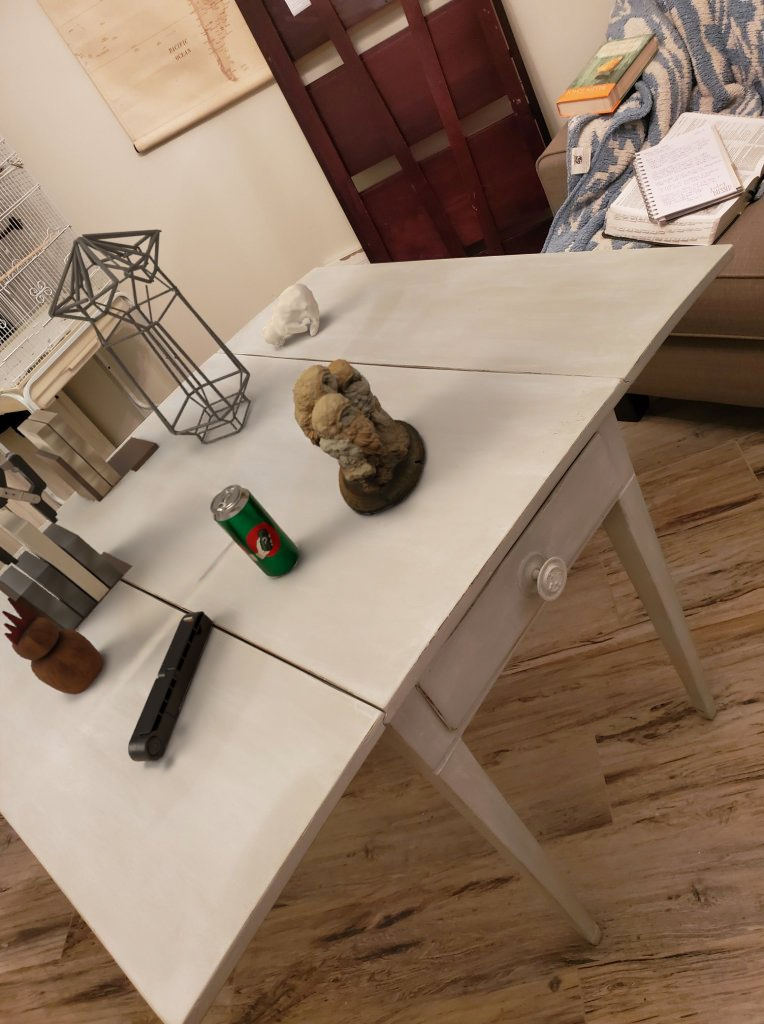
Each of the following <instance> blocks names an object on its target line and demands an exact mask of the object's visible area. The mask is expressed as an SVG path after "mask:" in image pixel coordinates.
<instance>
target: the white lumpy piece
mask: <svg viewBox="0 0 764 1024" xmlns="http://www.w3.org/2000/svg"><path fill="white" fill-rule="evenodd" d="M306 319H309V321H310V326H309V328H308V325H306V324H303V321H304V320H306ZM319 327H320V308H319V304H318V302H317V300H316V298H315V296H314V294H313V291H312V290H311V289H310V288H309V287H308V286H307V285H306V284H304V283H301V282H299V283H295V284H292V285H289V286H288V287H286V288H285V289H283V291H281V293H280V294H279V297H278V300H277V301H276V303H275V306H274V310H273V312H272V317H271V318H270V321H269V322H268V323H267V324H266V325H265V326H264V327H263V329H262V333H261V334H262V338H263V340H264V342H265V343H266V344H267V345H272V346H274V347H277V348H283V345H284V344H285V340H284V339H285V337H286V336H290V335H293V334H300V333H306V332H307V331H308V329H309V335H310V336H311V337H314V336H316V335H317V333H318V330H319Z"/></svg>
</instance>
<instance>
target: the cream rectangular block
mask: <svg viewBox="0 0 764 1024" xmlns="http://www.w3.org/2000/svg"><path fill="white" fill-rule="evenodd" d="M0 528H1V529H2V530H3V531H4V532H6V533H7V534H9V535H10V536H11V537H12V538H13V539H14V540H16V541H17V542H18V543H20V544H21V545H22V546H23V547H24V548H26V549H27V551H29V552H30V553H31V554H33V555H34V556H36V557H37V558H39V559H41V560H42V561H44V562H45V563H47V564H49V565H50V566H51V567H53V568H54V569H55V570H56V571H58V572H59V573H60V574H61V575H62V576H64V577H65V578H66V579H67V580H69V581H70V582H71V583H72V584H74V585H75V586H76V587H77V588H78V589H80V590H81V591H82V592H84V593H85V594H87V595H89V596H90V597H92V598H93V599H95V600H97V601H98V602H99V601H100V600H101V599H102V597H103V596H104V595H105V594H106V593H107V592H108V591H109V589H108V588H107V587H106V586H105V585H104V584H103V583H101V582H100V581H99V580H98V579H97V578H95V577H94V576H93V575H92V574H91V573H89V572H88V571H87V570H86V569H85V568H84V567H82V566H81V565H80V564H79V563H78V562H76V561H75V560H74V559H73V558H72V557H70V556H69V555H68V554H67V553H66V552H64V551H63V550H62V549H61V548H60V547H59V546H57V545H56V544H55V543H54V542H53V541H51V540H50V539H49V538H48V537H47V536H45V535H44V534H43V531H41V530H40V529H39V528H37V526H35V525H34V524H33V523H31V522H30V521H29V520H27V519H25V518H23V517H22V516H19V515H17V514H16V513H13V512H12V511H10V510H8V509H4V510H3V511H2V512H1V513H0Z"/></svg>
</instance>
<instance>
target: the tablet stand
mask: <svg viewBox="0 0 764 1024" xmlns="http://www.w3.org/2000/svg"><path fill="white" fill-rule="evenodd" d="M213 624H214V621H213V620H212V618H210V617H209V616H208V615H207V614H206V613H205V612H204V611H203V610H201V611H193V612H188V613H186V614H184V615H183V616H182V617H181V619H180V621H179V623H178V626H177V627H176V630H175V632H174V635H173V638H172V640H171V641H170V644H169V647H168V649H167V651H166V653H165V656H164V658H163V661H162V663H161V666H160V668H159V669H158V672H157V678H155V680H154V681H153V684H152V686H151V688H150V691H149V693H148V696H147V698H146V701H145V703H144V706H143V707H142V710H141V713H140V715H139V717H138V720H137V722H136V725H135V727H134V729H133V732H132V734H131V736H130V739H129V741H128V745H127V752H128V755H129V758H130V759H131V760H132V761H133V762H138V763H141V762H156V761H158V760H160V759H161V758H162V757H163V756H164V754H165V751H166V748H167V746H168V743H169V740H170V739H171V735H172V734H173V733H172V732H173V731H174V728H175V725H176V723H177V720H178V717H179V715H180V712H181V707H182V704H183V702H184V700H185V697H186V694H187V692H188V689H189V686H190V684H191V681H192V679H193V676H194V673H195V671H196V669H197V666H198V663H199V661H200V658H201V656H202V654H203V651H204V648H205V645H206V643H207V640H208V638H209V635H210V632H211V630H212V627H213Z"/></svg>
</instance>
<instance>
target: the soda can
mask: <svg viewBox="0 0 764 1024" xmlns="http://www.w3.org/2000/svg"><path fill="white" fill-rule="evenodd" d="M209 510H210V512H211V513H212V518H213V521H215V523H216V524H217V525H218V526H219V527H221V529H222V530H223V531H224V532H225V534H227V536H229V537H230V538H231V539H232V541H233V542H234V543H236V545H237V546H238V547H239V548H240V549H241V550H242V551H243V552H244V554H246V556H248V557H249V559H250V560H251V561H252V562H253V563H254V564H255V565H256V566H257V567H258V569H260V570H261V571H262V572H263V573H264V575H265V576H267V577H270V578H278V577H282V575H283V576H285V575H287V574H288V573H289V572H291V570H293V568H295V566H296V565H297V563H298V560H299V557H300V549H299V547H298V546H297V545H296V543H294V541H293V540H292V539H291V538H290V536H289V535H288V534H287V533H286V531H284V530H283V528H282V527H281V526H280V525H279V523H277V521H276V519H274V518H273V517H272V515H270V513H269V512H268V511H267V510H266V508H264V506H263V505H262V504H261V503H260V502H259V500H258V499H257V498H256V497H255V496H254V495H253V493H252V492H251V491H250V490H249V489H248V488H246V487H242V486H241V485H240V484H231V485H228V486H225V488H222V489H221V490H220V491H219V492H217V493H216V495H215V496H214V497H213V498H212V500H211V502H210V505H209ZM296 562H297V563H296ZM295 564H296V565H295ZM294 565H295V566H294ZM287 572H288V573H287ZM284 574H285V575H284Z"/></svg>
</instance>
